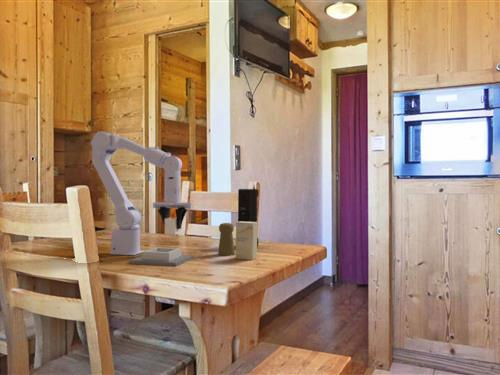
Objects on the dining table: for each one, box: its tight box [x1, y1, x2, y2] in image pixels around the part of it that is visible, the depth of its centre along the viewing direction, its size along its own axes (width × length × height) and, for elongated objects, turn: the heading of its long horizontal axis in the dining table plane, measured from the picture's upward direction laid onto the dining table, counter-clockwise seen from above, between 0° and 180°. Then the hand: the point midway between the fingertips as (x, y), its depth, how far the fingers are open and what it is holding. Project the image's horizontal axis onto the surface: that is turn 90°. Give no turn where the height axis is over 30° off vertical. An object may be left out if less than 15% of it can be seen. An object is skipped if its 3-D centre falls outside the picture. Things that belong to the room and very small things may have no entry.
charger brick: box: [164, 217, 182, 236], centre depth 152 cm, size 4×5×6 cm
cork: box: [217, 222, 236, 257], centre depth 151 cm, size 6×6×11 cm
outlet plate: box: [128, 246, 195, 267], centre depth 138 cm, size 16×14×4 cm
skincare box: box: [235, 221, 258, 261], centre depth 142 cm, size 6×4×12 cm
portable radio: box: [237, 186, 259, 248], centre depth 168 cm, size 8×6×25 cm
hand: (172, 228), depth 152 cm, fingers closed on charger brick, 4 cm apart
